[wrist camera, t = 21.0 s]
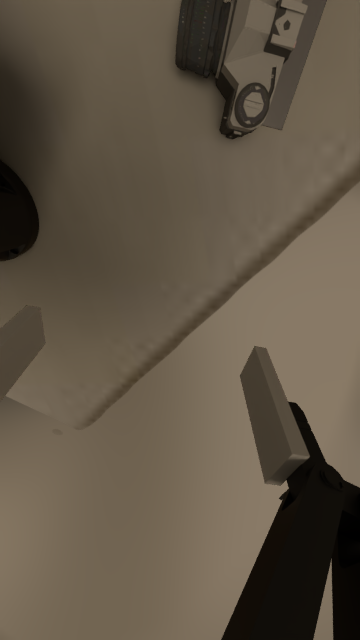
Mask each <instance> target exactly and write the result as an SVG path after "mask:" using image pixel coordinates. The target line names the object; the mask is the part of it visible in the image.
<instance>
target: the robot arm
mask: <svg viewBox="0 0 360 640" xmlns="http://www.w3.org/2000/svg"><path fill="white" fill-rule="evenodd" d="M38 227H39V222H38V214H37V210H36V207H35V204H34V202H33V199H32V197H31V195H30V193H29V191H28V190H27V188H26V187H25V185H24V184H23V182H22V181H21V180H20V178H19V177H18V176H17V175H16V174H15V173H14V172H13V171H12V170H11V169H10V168H9V167H8V166H7V165H6V164H5V163H3V162H2V161H1V160H0V261H7V260H10V259H14V258H16V257H18V256H20V255H21V254H23V253H25V252H26V251H28V250H29V249H30V248H31V247H32V245H33V244H34V242H35V240H36V238H37V234H38ZM45 343H46V342H45V336H44V329H43V323H42V316H41V310H40V307H34V306H28V305H26V306H25V307H24V308H23V309H22V310H21V311H20V312H19V313H17V314H16V315H15V316H14V317H13V318H12V319H11V320H10V321H9V322H7V323H6V324H5V325H4V326H3V327H2V328H1V329H0V401H1V400H2V399H3V398H4V396H5V395H6V394H7V392H8V391H9V390H10V389H11V387H12V386H13V385H14V383H15V382H16V381H17V380H18V378H19V377H20V376H21V374H22V373H23V372H24V370H25V369H26V368H27V367H28V365H29V364H30V363H31V361H32V360H33V359H34V358H35V356H36V355H37V354H38V352H39V351H40V350H41V349H42V347H43V346H44V345H45ZM240 378H241V382H242V387H243V391H244V395H245V400H246V404H247V408H248V413H249V417H250V421H251V425H252V430H253V434H254V438H255V443H256V447H257V451H258V455H259V460H260V464H261V468H262V473H263V477H264V481H265V483H266V484H272V485H282V484H283V483H284V482H285V481H286V480H287V483H288V487H289V489H288V490H287V491H286V492H285V493H284V494H282V496H281V497H280V498H279V499H280V500H282V499H283V500H282V503H281V505H280V507H279V509H278V512H277V514H276V516H275V518H274V521H273V523H272V525H271V528H270V530H269V532H268V534H267V537H266V539H265V541H264V544H263V546H262V548H261V550H260V553H259V555H258V557H257V559H256V562H255V564H254V566H253V569H252V571H251V573H250V575H249V578H248V580H247V582H246V585H245V587H244V589H243V591H242V594H241V596H240V598H239V600H238V603H237V605H236V607H235V610H234V612H233V614H232V616H231V619H230V621H229V623H228V625H227V628H226V630H225V632H224V635H223V637H222V639H221V640H313V638H314V633H315V629H316V624H317V620H318V615H319V611H320V606H321V602H322V598H323V593H324V589H325V584H326V580H327V575H328V571H329V567H330V562H331V558H332V593H333V594H332V596H333V640H360V488H359V487H357V486H355V485H353V484H351V483H349V482H346V481H345V480H343V478H342V477H341V475H340V474H339V473H338V472H337V471H336V470H335V469H334V468H333V467H332V466H330V465H328V464H327V463H326V461H325V459H324V457H323V454H322V452H321V450H320V448H319V445H318V443H317V441H316V439H315V436H314V434H313V432H312V431H311V428H310V425H309V424H308V421H307V419H306V417H305V414H304V412H303V411H302V410H301V408H300V407H299V406H298V405H297V404H296V403H293V402H288V401H287V398H286V396H285V393H284V391H283V389H282V386H281V384H280V381H279V379H278V376H277V374H276V371H275V369H274V366H273V364H272V362H271V359H270V356H269V354H268V352H267V349H266V348H262V347H257V346H254V348H253V350H252V353H251V355H250V356H249V358H248V361H247V363H246V365H245V367H244V369H243V371H242V373H241V375H240Z"/></svg>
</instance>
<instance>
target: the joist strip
mask: <svg viewBox="0 0 360 640" xmlns="http://www.w3.org/2000/svg"><path fill="white" fill-rule="evenodd" d="M326 1H327V0H303V1H302V4H305V5H307V6H308V7H307V10H306V13H305V14H304V17H303V20H302V23H301V27H300V30H299V33H298V36H297V39H296V41H297V42H296V45H295V48H294V49H293V51H292V52H291V53H290V56H289V59H288V60H287V61H286V62H285V63H284V64H283V66H282V69H281V72H280V75H279V78H278V82H277V85H276V88H275V91H274V95H273V98H272V101H271V104H270V107H269V111H268V114H267V116H266V118H265V121H264V122H263V123H262V124H261V125H263V126H267V127H271V128H275V129H279V130H282V128H283V125H284V122H285V120H286V117H287V114H288V111H289V108H290V105H291V102H292V99H293V96H294V94H295V91H296V88H297V85H298V82H299V79H300V76H301V73H302V70H303V68H304V65H305V62H306V59H307V56H308V53H309V50H310V47H311V45H312V42H313V39H314V36H315V33H316V30H317V27H318V24H319V21H320V19H321V16H322V13H323V10H324V7H325V4H326Z"/></svg>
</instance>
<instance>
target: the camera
mask: <svg viewBox="0 0 360 640" xmlns="http://www.w3.org/2000/svg"><path fill="white" fill-rule="evenodd" d="M302 1H303V0H231V3H230V2H227V3H224V2H223V0H182V2H181V9H180V16H179V25H178V34H177V44H176V65H177V67H178V68H180V69H181V68H182V69H183V70H186V68H187V69H190V70H193V71H195V73H196V74H197V73H198V74H201V75H203V74H204V78H207V77H208V76H209V73H210V72H211V71H212V72H213V73H214V74H216V76H215V78H217V81H216V85H217V87H218V89H219V90H220V92H221V93H222V95H223V96H224V98H225V99H226V104H225V108H224V113H223V117H222V121H221V126H220V132H221V134H226V137H227V138H231V139H234V138H237V137H242V136H243V135H245V134H248V133H251V132H253V131H254V130H255V129H256V128H258V127H259V126H260V125H261V124H262V123H263V122H264V121H265V118H266V116H267V114H268V111H269V107H270V104H271V101H272V98H273V95H274V91H275V88H276V85H277V82H278V78H279V75H280V72H281V69H282V66H283V64H284V63H285V62H286V61H287V60H288V59H289V56H290V53H291V52H292V51H293V49H294V48H295V45H296V42H297V41H296V39H297V36H298V33H299V30H300V27H301V23H302V20H303V17H304V14H305V13H306V10H307V7H308V6H307V5H305V4H302Z"/></svg>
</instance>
